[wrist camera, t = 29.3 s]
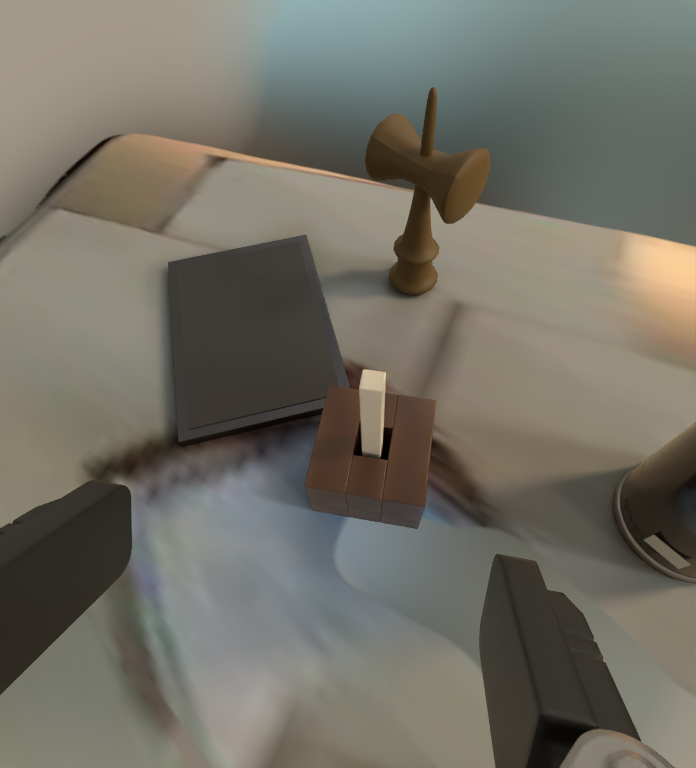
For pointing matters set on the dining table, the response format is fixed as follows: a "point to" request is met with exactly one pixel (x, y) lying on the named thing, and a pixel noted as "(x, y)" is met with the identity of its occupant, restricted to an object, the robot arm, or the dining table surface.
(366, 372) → the stylus
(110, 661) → the dining table surface
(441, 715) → the dining table surface
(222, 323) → the tablet
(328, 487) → the pen stand
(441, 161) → the kendama
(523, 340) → the dining table surface
